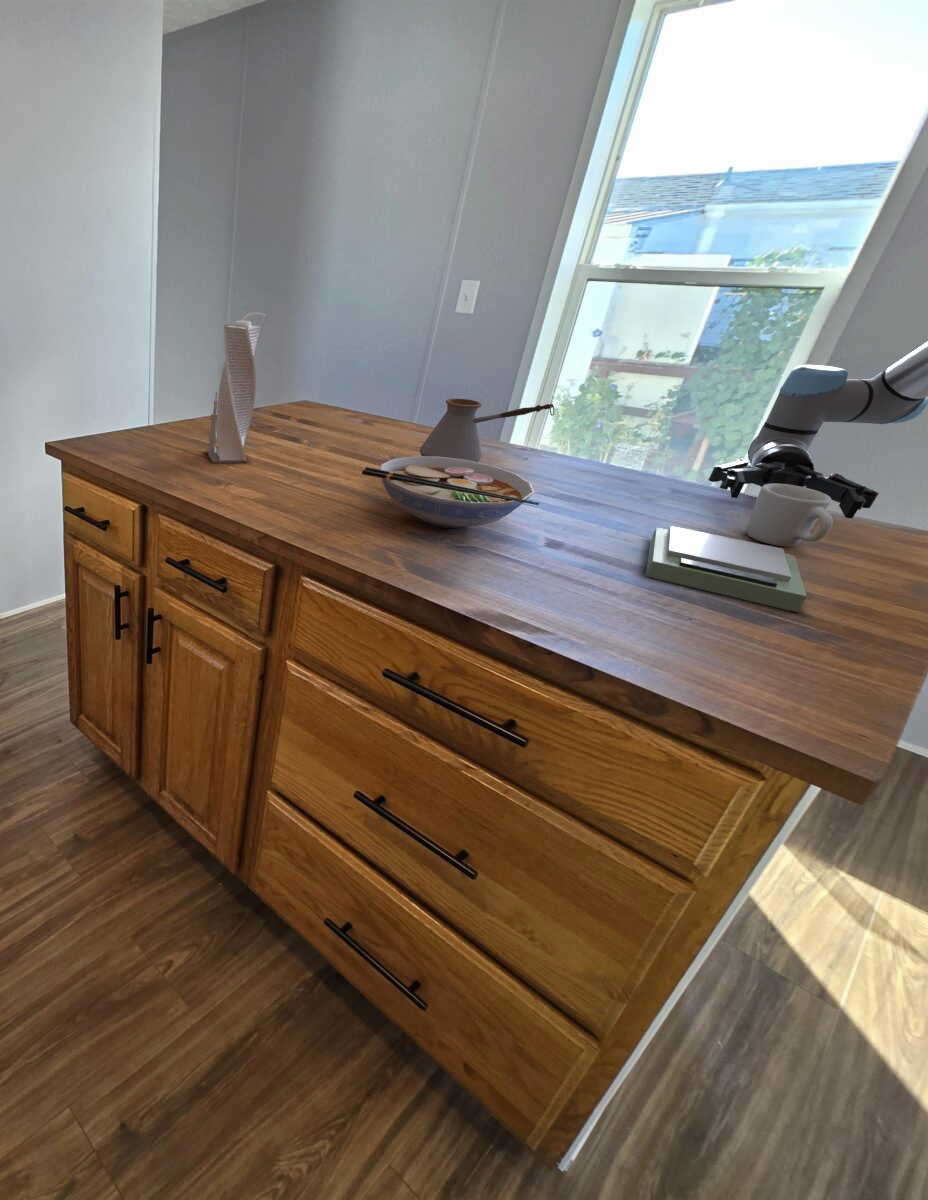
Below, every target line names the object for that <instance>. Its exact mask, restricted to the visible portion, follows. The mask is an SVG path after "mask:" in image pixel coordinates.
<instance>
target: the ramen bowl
mask: <svg viewBox="0 0 928 1200" xmlns="http://www.w3.org/2000/svg"><path fill="white" fill-rule="evenodd" d="M364 468H365V469H362V471H361V475H364V476H368V477H375V478H380V479H381V482H382V484H383V487H384V489H385V490H386V493H387V494H388V495H389V497H390V498H391V500H392V501H393V502H394V503H395V504H396V505H397V506H398V508H400V509H401V510H403V511H404V512H405V513H407V514H410V515H412V516H414V517H416V518H418V519H420V520H421V521H422V522H424V523H426V524H429V525H431V526H434V527H439V528H444V529H460V528H465V527H468V528H469V527H478V526H482V525H488V524H491V523H494V522H497V521H500V520H502V519H504V518H505V517H507V516H508V515H509V514H511V513H512V512H514V511H515V510H516V509H518V508H519V507H521V505H523V504H529V505H535V506H539V505H540V502H537V501H533V500H529V498H530V497H532V496H533V495H534V493H535V490H534V488H533V485H532V483H531V482H530V481H529V480H527V479H525V478H524V477H522V476H521V475H519V474H517V473H516V472H512V471H509V470H506V469H503V468H500V467H498V466H495V465H491V464H488V463H487V464H486V463H482V462H479V461H478V462H474V461H470V460H464V459H455V458H447V457H435V456H421V455H418V456H417V455H412V456H403V457H398V458H392V459H390V460H388V461H386V462H384V463H381V465H380V469H379V468H375V467H370V466H366V467H364Z"/></svg>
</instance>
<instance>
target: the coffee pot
mask: <svg viewBox="0 0 928 1200" xmlns="http://www.w3.org/2000/svg"><path fill="white" fill-rule="evenodd" d="M445 403H446V407H447V409H446V412H445V413H444V415H443V416H442V417H441V419H440V420H439V422H438V423H437V424H436V425H435V427H434V428H433V429H432V431H431V432H430V434H429V435H428V436H427V438H426V439H425V441H424V442H423V443H422V445H421V446H420V448H419V452H420V456H435V457H447V458H455V459H464V460H470V461H474V462H479V461H481V460H482V457H483V454H482V447H481V441H480V436H479V429H478V423H483V422H488V421H492V420H496V419H504V418H511V417H519V416H524V415H525V416H526V415H528V414H531V413H534V412H537V413H540V412H541V411H542V410H549V415H550V416H554V415H555V406H554V404H553V403H548V404H547V403H546V404H544V405H540V404H537V405H535V406H530V407H521V408H517V409H513V410H509V411H504V412H501V413H496V414H492V415H486V416H480V417H476V414H477V412H478V410H479V408H481V407H482V406H483V404H482V403H481V402H480V401H477V400H473V399H467V398H448V399H446V400H445Z"/></svg>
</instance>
